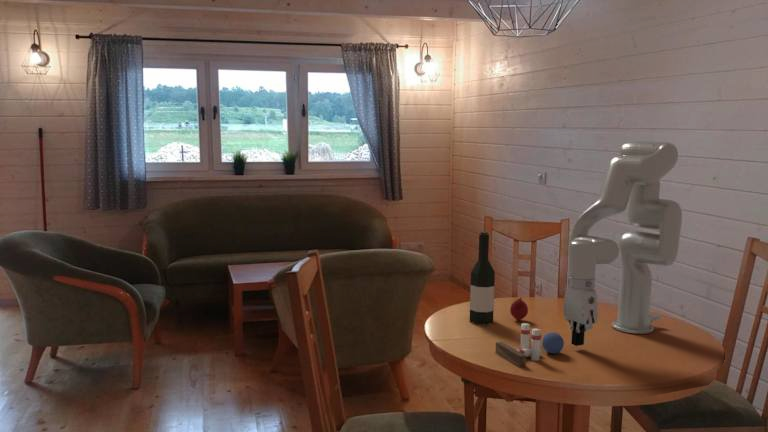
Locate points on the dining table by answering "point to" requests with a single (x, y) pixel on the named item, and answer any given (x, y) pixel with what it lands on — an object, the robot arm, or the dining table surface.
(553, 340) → the ball
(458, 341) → the dining table surface
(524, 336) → the pin
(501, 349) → the wall
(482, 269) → the wine bottle
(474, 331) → the dining table surface
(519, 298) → the onion
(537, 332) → the pin
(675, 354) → the dining table surface
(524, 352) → the pin front
